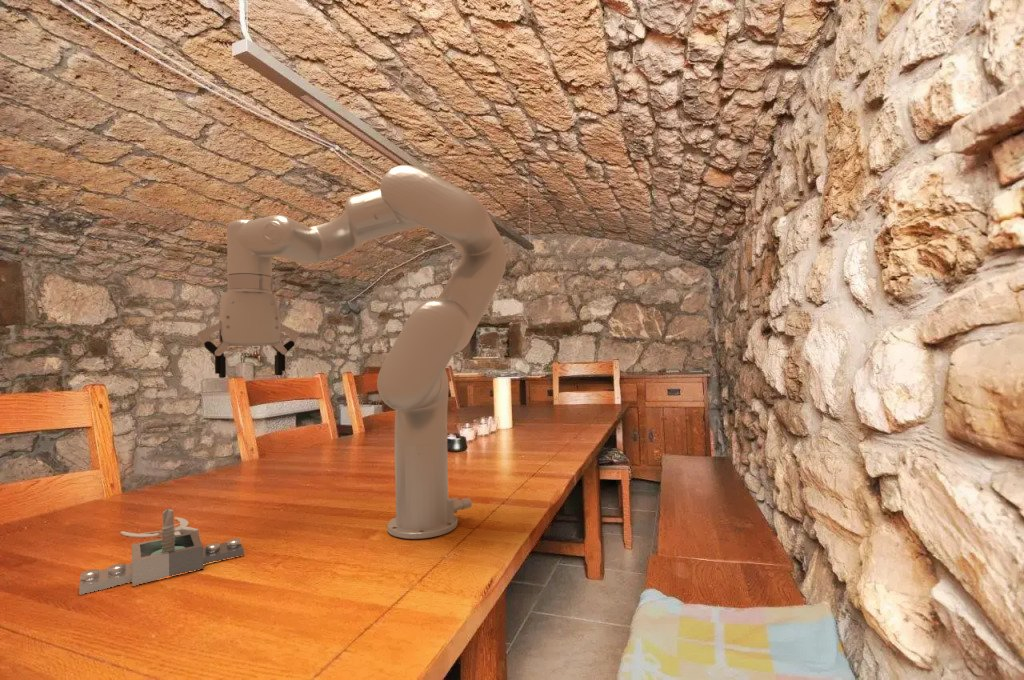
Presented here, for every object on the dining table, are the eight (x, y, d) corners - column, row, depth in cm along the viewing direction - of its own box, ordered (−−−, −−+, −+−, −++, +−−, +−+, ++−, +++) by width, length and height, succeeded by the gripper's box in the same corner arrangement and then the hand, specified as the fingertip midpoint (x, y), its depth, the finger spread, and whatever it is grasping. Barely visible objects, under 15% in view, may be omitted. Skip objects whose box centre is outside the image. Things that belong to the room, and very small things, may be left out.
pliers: (177, 512, 100) (217, 524, 93) (177, 520, 100) (217, 532, 93) (118, 527, 92) (157, 541, 84) (118, 536, 92) (157, 551, 84)
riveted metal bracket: (236, 543, 86) (236, 523, 86) (245, 559, 79) (245, 536, 79) (82, 578, 73) (82, 554, 73) (78, 600, 67) (78, 573, 67)
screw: (140, 572, 75) (173, 559, 79) (162, 577, 73) (195, 563, 78) (140, 512, 75) (173, 502, 80) (162, 515, 73) (195, 505, 78)
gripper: (293, 291, 104) (294, 374, 103) (194, 286, 93) (195, 378, 93) (303, 286, 98) (304, 374, 97) (199, 280, 87) (200, 379, 87)
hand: (251, 376), depth 95 cm, fingers open, 9 cm apart
